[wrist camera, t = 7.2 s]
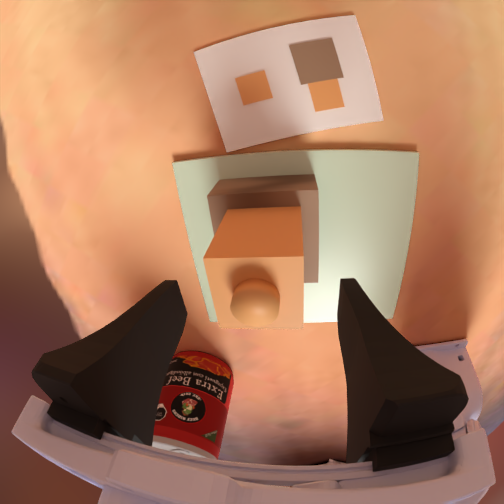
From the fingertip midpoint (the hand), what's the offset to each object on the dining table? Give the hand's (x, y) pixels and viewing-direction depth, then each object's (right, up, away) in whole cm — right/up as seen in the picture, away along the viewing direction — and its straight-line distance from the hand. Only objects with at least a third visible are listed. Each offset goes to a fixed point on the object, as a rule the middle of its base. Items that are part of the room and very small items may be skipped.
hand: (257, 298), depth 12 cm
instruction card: (+2, +12, +2) cm, 12 cm away
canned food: (-6, -11, +18) cm, 22 cm away
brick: (+1, +3, +4) cm, 5 cm away
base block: (+1, +4, +7) cm, 8 cm away
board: (+3, +2, +8) cm, 9 cm away
